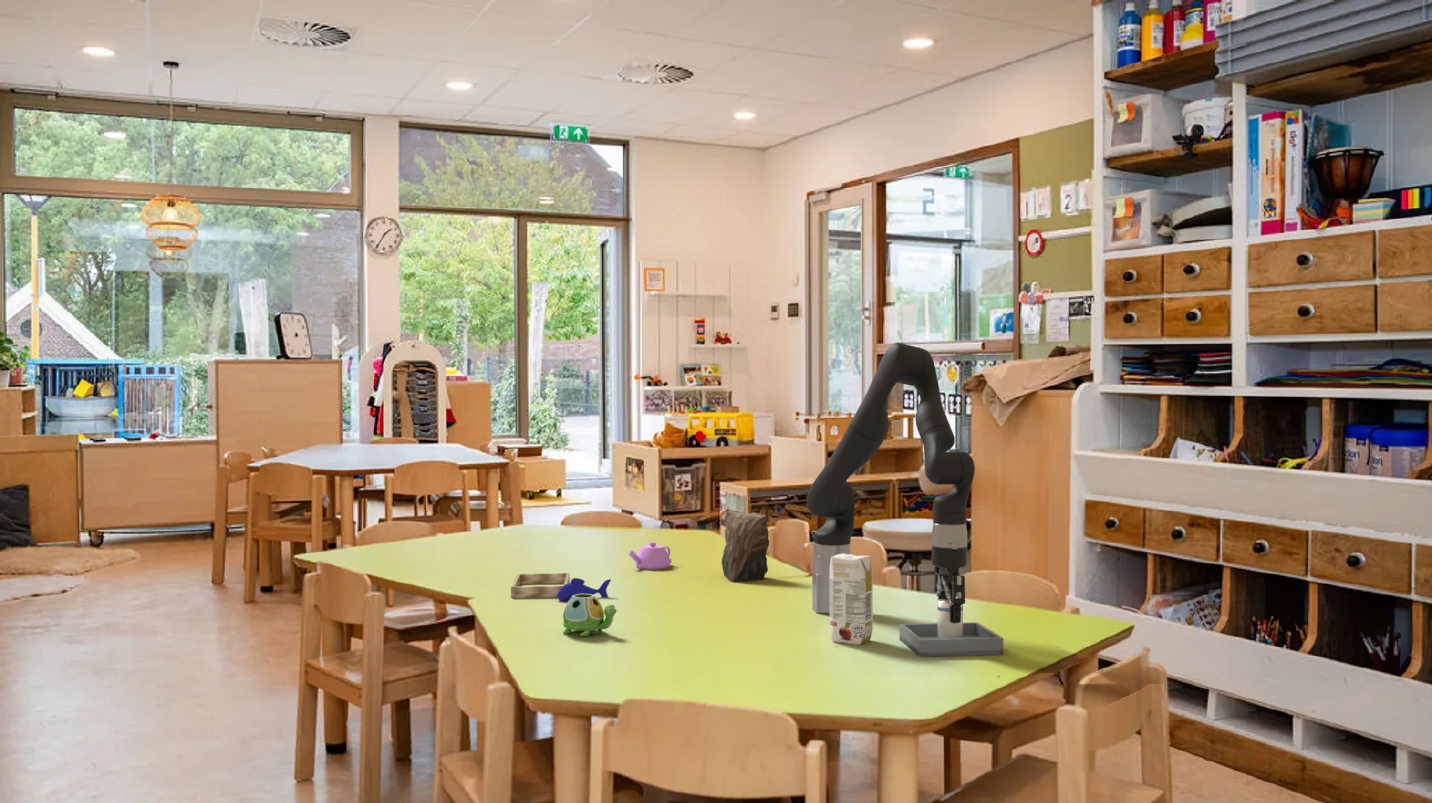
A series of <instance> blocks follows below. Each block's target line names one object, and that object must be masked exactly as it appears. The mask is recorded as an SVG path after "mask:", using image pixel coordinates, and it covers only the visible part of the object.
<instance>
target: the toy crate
mask: <svg viewBox="0 0 1432 803" xmlns="http://www.w3.org/2000/svg"><path fill="white" fill-rule="evenodd" d="M570 582H571V580H570V572H556V573H555V572H549V573H548V572H546V573H517V575H516V576H515V578H514V581H513V583H512V584H511V586H510V598H511V599H513V598H514V599H517V598H520V599H521V598H522V599H523V598H524V599H526V598H535V599H536V598H558V597H557V594H558V592H559V590H560V589H561V588H562V587H563V586H564V585H565V584H568V583H570ZM530 584H533V585H532V586H531V585H530ZM534 584H535V585H534ZM537 584H563V585H537ZM521 585H525V586H521ZM527 585H529V586H527ZM536 585H537V586H536Z"/></svg>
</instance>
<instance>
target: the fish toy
mask: <svg viewBox="0 0 1432 803" xmlns="http://www.w3.org/2000/svg"><path fill="white" fill-rule="evenodd" d="M611 581H612V579H610V578H609V579H606V580H605V581H603V583H602V584H601V585H600V587H599V588H598V589H595V588H592V587H590V586H588V585H585V583H586V582H585V580H584V579H582V578H579V577H578V578H577V577H573V578H571V580H570V583H568V584H565V585H564V584H563V585H562V586H563V587H562V588H561V589H560V590H559V592H558V594H557V597H556V598H557V599H558V601H560V602H568V601H569V600H570V599H571V598H572V596H573V595H576V594H592V595H594V596H595V595H596V594H599V595H600V597H602V598H608V597H609V596H608V593H607V588H608V587H609V584H610V583H611Z"/></svg>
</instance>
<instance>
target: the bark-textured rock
mask: <svg viewBox="0 0 1432 803" xmlns="http://www.w3.org/2000/svg"><path fill="white" fill-rule="evenodd" d="M728 517H729V518H728V521H727V525H726V526H725V530H724V541H725V546H724V550H723V553H722V557H721V566H722V567H721V568H722V572H723V576H724V577H725V578H726V579H727V581H729V582H730V583H738V582H741V583H742V582H753V581H762V580H764V578H765V575H766V574H767V573H768V571H769V568H768V558H767V552H768V548H769V545H770V539H769V529H768V528H769V527H768V518H769V516H768V514H762V513H759V512H751V513H747V512H746V513H745V512H743V513H742V512H738V511H729V512H728Z"/></svg>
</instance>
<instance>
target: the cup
mask: <svg viewBox="0 0 1432 803" xmlns="http://www.w3.org/2000/svg"><path fill="white" fill-rule="evenodd" d="M960 606H961V622H960V623H951V622H950V603H949V599H939V600H938V599H937V607H936V608H937V610H936V611H937V639H953V638H963V623H964V604H962V605H960Z"/></svg>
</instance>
